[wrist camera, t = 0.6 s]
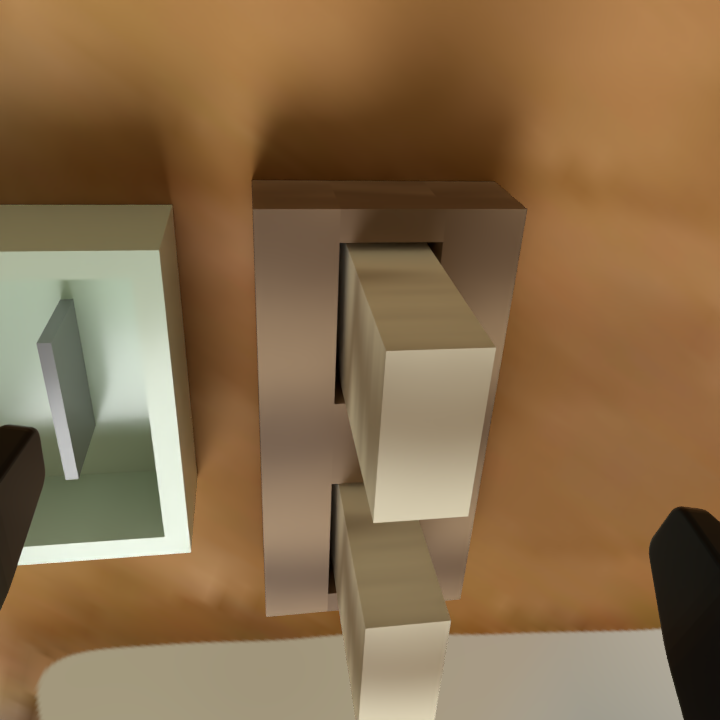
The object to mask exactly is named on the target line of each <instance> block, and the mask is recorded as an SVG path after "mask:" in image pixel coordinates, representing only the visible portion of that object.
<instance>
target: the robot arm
mask: <svg viewBox="0 0 720 720" xmlns="http://www.w3.org/2000/svg"><path fill="white" fill-rule="evenodd" d="M44 480H45V464H44V458H43V451H42V445H41V439H40V434H39V432H38V430H37V429H36V428H33V427H28V426H20V425H12V424H6V425H3V426H1V427H0V610H1V608H2V605H3V603H4V601H5V598H6V596H7V593H8V591H9V588H10V586H11V583H12V580H13V577H14V574H15V571H16V568H17V565H18V562H19V559H20V556H21V553H22V550H23V547H24V543H25V540H26V537H27V534H28V531H29V528H30V525H31V522H32V519H33V516H34V513H35V510H36V507H37V504H38V501H39V497H40V494H41V491H42V488H43V485H44ZM649 558H650V564H651V570H652V576H653V581H654V587H655V593H656V599H657V605H658V611H659V617H660V623H661V629H662V635H663V641H664V646H665V650H666V655H667V659H668V663H669V667H670V671H671V675H672V678H673V682H674V685H675V689H676V693H677V696H678V700H679V704H680V707H681V711H682V715H683V718H684V720H720V522H719V521H718V520H717V519H716V518H715V517H714V516H712V515H711V514H710V513H709V512H707V511H706V510H703V509H698V508H690V507H682V506H681V507H677V508H675V509H673V510H672V511H671V513H670V514H669V515H668V517H667V518H666V520H665V521H664V522H663V524H662V525H661V527H660V528H659V529H658V531H657V532H656V534H655V535H654V536H653V538H652V540H651V543H650V547H649Z"/></svg>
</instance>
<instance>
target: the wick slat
mask: <svg viewBox="0 0 720 720" xmlns="http://www.w3.org/2000/svg"><path fill="white" fill-rule="evenodd" d="M330 553H331V560H332V566H333V573H334V580H335V586H336V593H337V600H338V606H339V613H340V620H341V626H342V633H343V640H344V646H345V653H346V660H347V666H348V673H349V679H350V686H351V692H352V699H353V706H354V712H355V719H356V720H435V713H436V707H437V702H438V695H439V689H440V684H441V678H442V671H443V666H444V660H445V653H446V647H447V641H448V635H449V629H450V623H451V619H450V616H449V613H448V610H447V607H446V604H445V600H444V597H443V594H442V591H441V588H440V585H439V582H438V579H437V575H436V572H435V569H434V566H433V563H432V560H431V557H430V553H429V550H428V547H427V544H426V541H425V538H424V535H423V532H422V528H421V525H420V522H419V520H410V521H396V522H382V523H373V520H372V515H371V511H370V507H369V503H368V498H367V494H366V490H365V486H364V482H358V483H341V484H332V488H331V518H330Z"/></svg>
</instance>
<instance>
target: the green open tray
mask: <svg viewBox="0 0 720 720" xmlns="http://www.w3.org/2000/svg"><path fill="white" fill-rule="evenodd" d="M6 424H12V425H20V426H28V427H33V428H36V429H37V430H38V432H39V434H40V439H41V445H42V451H43V458H44V464H45V480H44V485H43V488H42V491H41V494H40V497H39V501H38V504H37V507H36V510H35V513H34V516H33V519H32V522H31V525H30V528H29V531H28V534H27V537H26V540H25V543H24V547H23V550H22V553H21V556H20V559H19V562H18V565H29V564H42V563H55V562H69V561H82V560H96V559H109V558H122V557H136V556H149V555H162V554H176V553H189V552H191V546H192V534H193V523H194V511H195V500H196V488H197V467H196V457H195V446H194V435H193V424H192V413H191V402H190V391H189V381H188V370H187V359H186V348H185V337H184V326H183V315H182V305H181V294H180V283H179V272H178V261H177V250H176V239H175V229H174V218H173V207H172V205H0V427H1V426H3V425H6Z"/></svg>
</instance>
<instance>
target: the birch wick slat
mask: <svg viewBox="0 0 720 720" xmlns="http://www.w3.org/2000/svg"><path fill="white" fill-rule="evenodd" d="M495 351H496V347H495V345H494V344H493V342H492V341H491V339H490V338H489V336H488V335H487V333H486V332H485V330H484V329H483V327H482V326H481V324H480V323H479V321H478V320H477V318H476V317H475V315H474V314H473V312H472V311H471V309H470V308H469V306H468V305H467V303H466V302H465V300H464V299H463V297H462V296H461V294H460V293H459V291H458V289H457V288H456V286H455V285H454V283H453V282H452V280H451V279H450V277H449V276H448V274H447V273H446V271H445V270H444V268H443V267H442V265H441V264H440V262H439V261H438V259H437V258H436V256H435V255H434V253H433V252H432V250H431V249H430V247H429V246H428V244H427V243H426V242H390V243H340V246H339V276H338V306H337V337H336V366H337V370H338V375H339V379H340V383H341V388H342V392H343V396H344V400H345V405H346V409H347V413H348V417H349V422H350V426H351V430H352V434H353V439H354V443H355V447H356V451H357V456H358V460H359V464H360V468H361V473H362V477H363V481H364V486H365V490H366V494H367V498H368V503H369V507H370V511H371V515H372V520H373V523H382V522H396V521H410V520H424V519H438V518H452V517H467V516H468V514H469V508H470V502H471V496H472V490H473V484H474V478H475V472H476V466H477V460H478V454H479V448H480V442H481V436H482V430H483V424H484V418H485V412H486V406H487V400H488V393H489V387H490V381H491V375H492V369H493V363H494V357H495Z"/></svg>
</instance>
